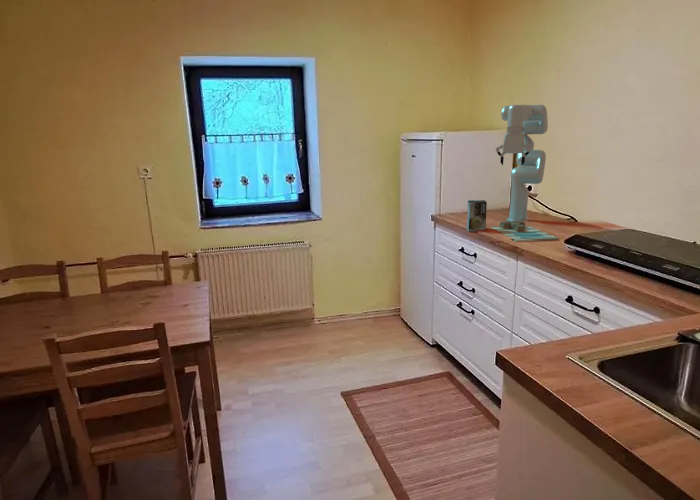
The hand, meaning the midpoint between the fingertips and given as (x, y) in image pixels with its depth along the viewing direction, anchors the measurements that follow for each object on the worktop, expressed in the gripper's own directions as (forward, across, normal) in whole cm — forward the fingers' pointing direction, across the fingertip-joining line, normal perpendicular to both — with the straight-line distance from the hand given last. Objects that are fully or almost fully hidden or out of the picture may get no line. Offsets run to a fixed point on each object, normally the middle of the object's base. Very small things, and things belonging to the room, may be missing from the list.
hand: (512, 164), depth 232 cm
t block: (+34, -4, -1) cm, 34 cm away
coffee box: (+35, +16, +3) cm, 39 cm away
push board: (+35, -7, +7) cm, 36 cm away
